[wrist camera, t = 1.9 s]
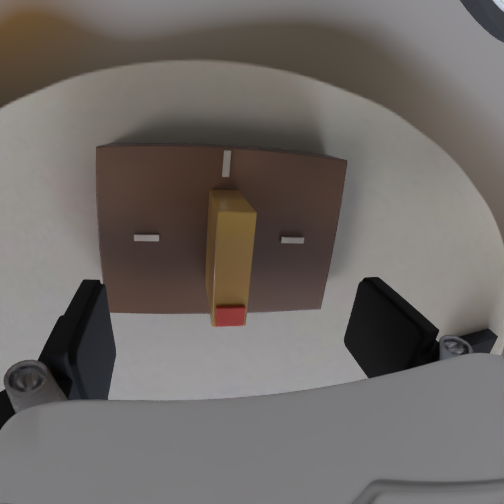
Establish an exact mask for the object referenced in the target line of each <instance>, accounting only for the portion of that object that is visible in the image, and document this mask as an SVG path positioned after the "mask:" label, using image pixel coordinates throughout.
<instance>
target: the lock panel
mask: <svg viewBox="0 0 504 504" xmlns="http://www.w3.org/2000/svg"><path fill="white" fill-rule="evenodd" d="M346 167H347V160H344V159H340V158H336V157H332V156H328V155H323V154H315V153H307V152H299V151H290V150H281V149H271V148H260V147H247V146H233V145H216V144H193V143H110V144H105V145H101V146H97V147H96V197H97V220H98V235H99V248H100V258H101V268H102V277H103V284H105V286H106V291H107V298H108V305H109V312H111V313H152V314H210V311H209V304H208V297H207V290H206V283H205V276H206V249H207V227H208V207H209V191H210V190H211V189H214V190H238V191H240V193H241V194H242V195H243V196H244V198H245V199H246V200H247V201H248V203H249V204H250V205H251V206H252V208H253V209H254V210H255V211H256V213H257V215H256V225H255V235H254V245H253V255H252V265H251V275H250V285H249V295H248V305H247V313H257V312H283V311H303V310H320V309H321V305H322V300H323V295H324V291H325V286H326V281H327V277H328V272H329V267H330V262H331V257H332V252H333V246H334V241H335V236H336V230H337V224H338V219H339V213H340V207H341V200H342V194H343V188H344V181H345V174H346Z"/></svg>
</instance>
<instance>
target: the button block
mask: <svg viewBox="0 0 504 504" xmlns="http://www.w3.org/2000/svg"><path fill="white" fill-rule="evenodd" d="M497 337H498V336H497V335H495V334H494V333H493V332H492V331H491V330H490V329H485V330H482V331H478V332H475V333H471V334H468V335H464V336H461V337H460V338H462V339H463V340H465V341H466V342H468V343H469V345H470V346H471V347H472V350H473V353H490V351H491V349H492V347H493V346H494V344H495V342H496V339H497Z"/></svg>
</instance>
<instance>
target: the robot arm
mask: <svg viewBox="0 0 504 504" xmlns="http://www.w3.org/2000/svg"><path fill="white" fill-rule="evenodd" d="M493 1H494V3H495V4H496V5H497V6H498V7H499V8H500V9H501V10H502V11H503V12H504V0H493ZM438 333H439V329H437V328H436V327H435V326H434V325H433V324H432V323H431V322H430V321H429V320H427V319H426V318H425V317H424V316H423V315H422V314H421V313H420V312H418V311H417V310H416V309H415V308H414V307H413V306H412V305H410V304H409V303H408V302H407V301H406V300H405V299H404V298H402V297H401V296H400V295H399V294H398V293H397V292H395V291H394V290H393V289H392V288H391V287H390V286H388V285H387V284H386V283H385V282H384V281H383V280H381V279H380V278H379V277H367V278H364V279H363V280H362V281H361V282H360V283H359V285H358V289H357V293H356V297H355V301H354V305H353V308H352V312H351V316H350V319H349V323H348V326H347V330H346V333H345V337H344V343H345V346H346V347H347V349H348V350H349V352H350V353H351V354H352V356H353V357H354V359H355V360H356V361H357V363H358V364H359V366H360V367H361V368H362V370H363V371H364V373H365V374H366V375H367V377H368V378H369V379H364V380H360V381H355V382H349V383H344V384H339V385H333V386H327V387H321V388H315V389H309V390H302V391H295V392H288V393H280V394H271V395H261V396H251V397H239V398H225V399H207V400H174V401H151V400H108V394H109V388H110V383H111V378H112V372H113V367H114V362H115V358H116V347H115V342H114V336H113V331H112V325H111V319H110V312H109V305H108V298H107V291H106V286H105V284H101V283H100V280H83V281H82V283H81V285H80V286H79V288H78V290H77V292H76V294H75V295H74V297H73V299H72V301H71V303H70V305H69V306H68V308H67V310H66V312H65V314H64V316H63V315H62V316H60V317H59V319H58V320H57V322H56V324H55V326H54V328H53V330H52V332H51V334H50V336H49V338H48V340H47V342H46V344H45V346H44V348H43V350H42V352H41V354H40V357H39V359H38V361H36V360H24V361H21V362H18V363H16V364H14V365H13V366H12V367H10V368H9V369H8V371H7V372H6V374H5V376H4V386H5V390H3V391H1V392H0V504H504V358H503V357H502V356H499V355H495V354H490V353H473V350H472V347H471V346H470V345H469V343H468V342H466V341H465V340H463V339H462V338H460V337H457V336H453V335H445V336H442V337H441V338H440V340H439V342H438V341H437V340H436V337H437V335H438Z"/></svg>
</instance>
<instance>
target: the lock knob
mask: <svg viewBox="0 0 504 504" xmlns="http://www.w3.org/2000/svg"><path fill="white" fill-rule="evenodd" d="M256 215H257V213H256V211H255V210H254V209H253V208H252V206H251V205H250V204H249V203H248V201H247V200H246V199H245V198H244V196H243V195H242V194H241V193H240V191H238V190H214V189H211V190H210V191H209V207H208V227H207V249H206V276H205V283H206V290H207V297H208V304H209V311H210V317H211V324H212V327H227V326H245V325H246V316H247V305H248V295H249V285H250V275H251V265H252V255H253V245H254V235H255V225H256Z"/></svg>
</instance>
